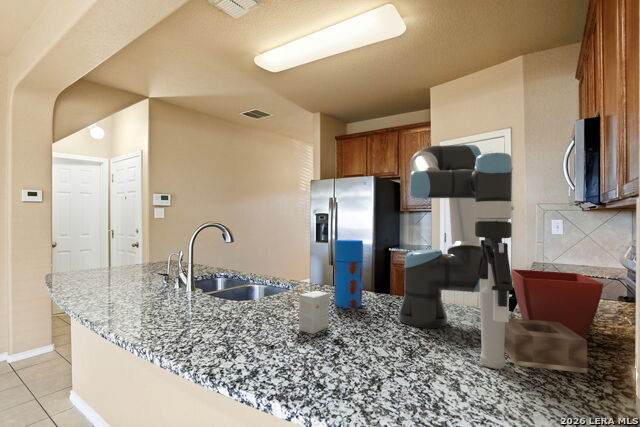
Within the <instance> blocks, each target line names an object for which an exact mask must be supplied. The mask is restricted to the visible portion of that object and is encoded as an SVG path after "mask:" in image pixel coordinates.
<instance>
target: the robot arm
mask: <svg viewBox="0 0 640 427" xmlns="http://www.w3.org/2000/svg"><path fill="white" fill-rule="evenodd" d="M409 169H410V171H411V172H410V174H409V196H410V197H411V198H414V199H422V200H426V199H448V201H449V203H448V204H449V217H450V220H449V221H450V236H451V237H450V238H451V245H450V246H449V247H448V248H447V251H446V252H447V253H443V251H442V249H440V248H439V249H437V248H434V249H431V248H430V249H428V248H427V249H420V250H419V249H418V250H412V251H409V252H408V253H406V255H405V257H404V265H403V268H404V296H403V298H402V302H401V305H400V309H399V311H398V320H399V321H400V322H401V323H403V324H405V325H408V326H412V327H417V328H426V329H431V328H432V329H436V328H442V327H446V326H447V325H448V315H447V312H446V309H445V306H444V302H443V300H442V291H448V292H449V291H451V292H468V293H470V292H471V293H479V306H481V292H480V291H481V290H482V289H483V288H485V287H486V284H488V263H489V264H491V268H492V273H493V278H494V284H495V286H492V290H494V321H499V322H509V318H510V315H509V313H510V311H509V309H510V306H509V304H510V302H509V298H510V296H509V295H510V291H511V290H513V288H514V285H513V279H512V272H511V268H510V267H511V266H510V260H509V253H508V252H509V248H508V247H509V245H508V243H507V242H503V239H511V238H512V233H513V232H512V230H513V229H512V228H513V223H512V222H511V221H509V220H511V219H512V211H514V210H515V207H514V206H513V205H512V194H513V193H512V192H513V191H512V190H513V189H512V184H513V182H512V181H513V178H512V177H513V172H512V171H513V164H512V156H511V155H510V154H509V153H506V152H490V153H483V154H482V152H481V150H480V148H479V147H478V145H475V144H466V143H464V144H458V145H457V144H456V145H455V144H454V145H433V146H432V145H431V146H426V147H424V148H421V149H420V150H418V151H416V152H415V153H414V154H413V155H412V156H411V158H410V160H409ZM480 238H484V239H481V240H480Z"/></svg>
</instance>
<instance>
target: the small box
mask: <svg viewBox="0 0 640 427" xmlns="http://www.w3.org/2000/svg"><path fill="white" fill-rule="evenodd" d="M298 298H299V303H298V304H299V305H298V306H299V307H298V308H299V312H298V314H299V315H298V330H299V331H300V332H303V333H308V334H310V335H311V334H312V335H314V334H316V333H319V332H321V331H323V330H325V329H327V328H329V320H330V319H329V318H330V316H329V315H330V311H329V310H330V293H329V292H324V291H319V290H312V291H309V292H305V293H303V294H299V296H298Z"/></svg>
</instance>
